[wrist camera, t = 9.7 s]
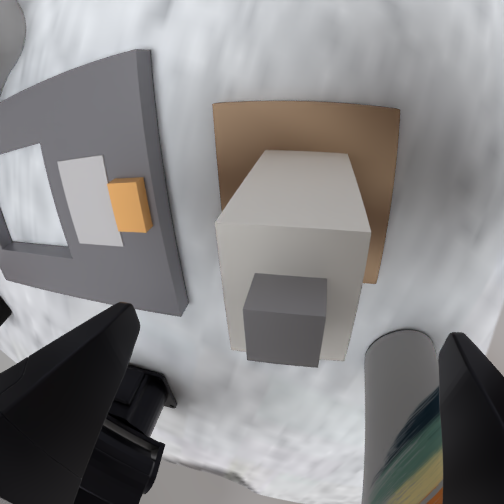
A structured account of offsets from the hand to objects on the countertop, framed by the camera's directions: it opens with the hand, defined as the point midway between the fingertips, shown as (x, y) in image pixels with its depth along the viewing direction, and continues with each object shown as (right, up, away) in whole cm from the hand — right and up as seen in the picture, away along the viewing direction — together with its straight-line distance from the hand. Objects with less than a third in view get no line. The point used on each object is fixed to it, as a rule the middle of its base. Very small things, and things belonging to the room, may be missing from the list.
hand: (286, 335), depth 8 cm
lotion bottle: (+10, -5, +13) cm, 18 cm away
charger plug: (+2, +5, +8) cm, 9 cm away
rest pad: (+2, +5, +8) cm, 10 cm away
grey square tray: (-17, +6, +12) cm, 22 cm away
